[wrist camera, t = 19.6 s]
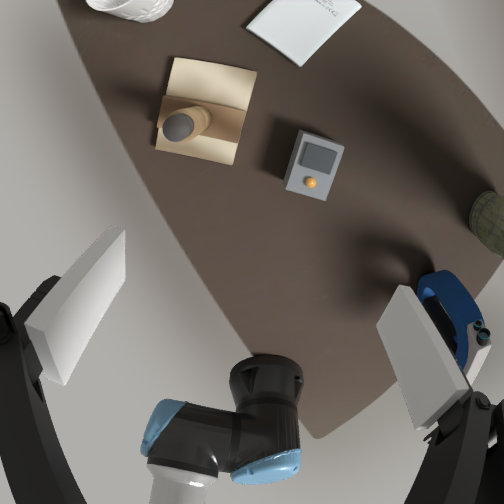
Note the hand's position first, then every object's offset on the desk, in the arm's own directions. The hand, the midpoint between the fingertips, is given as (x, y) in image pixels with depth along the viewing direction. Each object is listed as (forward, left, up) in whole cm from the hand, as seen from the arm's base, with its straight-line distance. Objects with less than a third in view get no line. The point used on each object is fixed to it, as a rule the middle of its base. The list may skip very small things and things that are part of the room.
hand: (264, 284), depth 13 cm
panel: (+4, +8, -26) cm, 28 cm away
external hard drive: (+20, 0, -27) cm, 33 cm away
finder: (+1, -6, -26) cm, 27 cm away
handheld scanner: (-14, -35, -26) cm, 46 cm away
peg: (+3, +8, -24) cm, 26 cm away
